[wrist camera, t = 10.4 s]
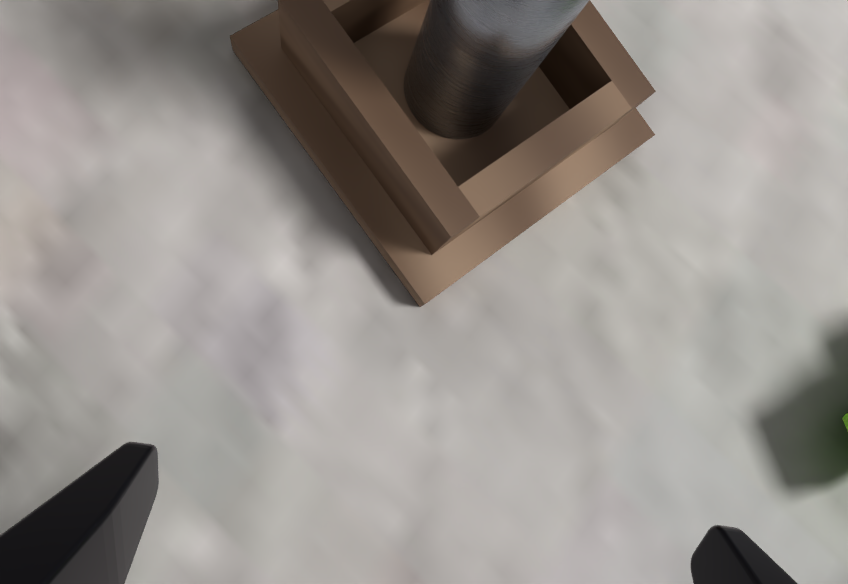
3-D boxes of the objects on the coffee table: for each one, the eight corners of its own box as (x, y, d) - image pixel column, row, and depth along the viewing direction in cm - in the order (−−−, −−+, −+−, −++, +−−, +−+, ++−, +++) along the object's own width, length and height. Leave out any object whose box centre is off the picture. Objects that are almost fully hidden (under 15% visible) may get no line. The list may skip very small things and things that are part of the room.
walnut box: (420, 307, 23) (443, 292, 19) (232, 50, 23) (218, -16, 19) (641, 143, 26) (701, 102, 22) (475, -86, 26) (506, -168, 22)
